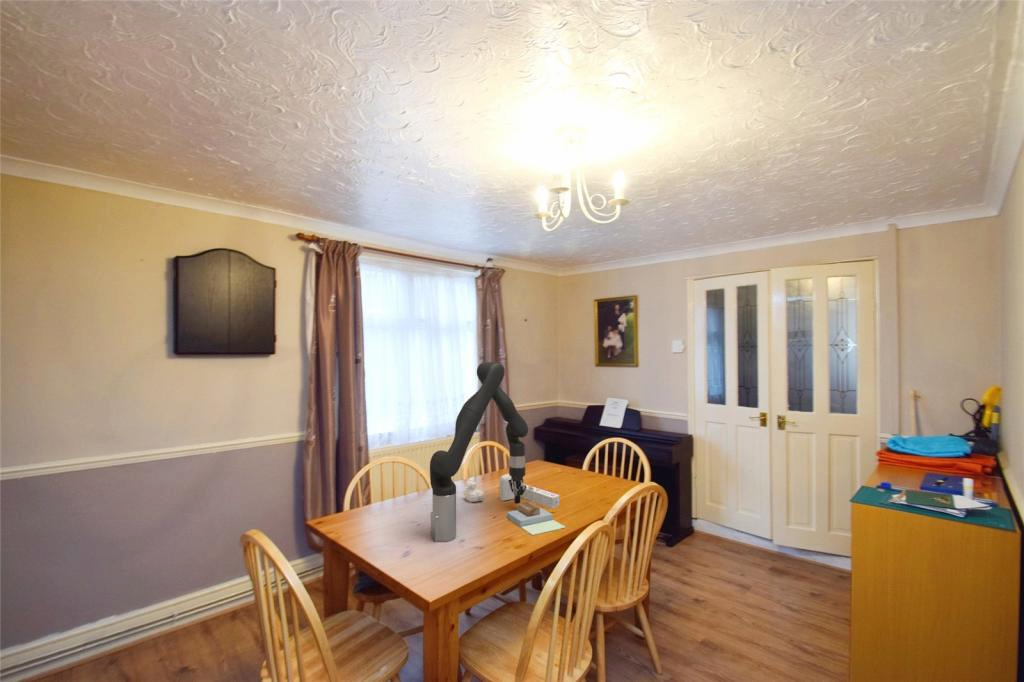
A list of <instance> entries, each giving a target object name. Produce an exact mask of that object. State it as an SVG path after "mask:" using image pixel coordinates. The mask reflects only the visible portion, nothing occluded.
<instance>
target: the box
mask: <svg viewBox="0 0 1024 682" xmlns="http://www.w3.org/2000/svg"><path fill="white" fill-rule="evenodd" d="M523 484H524V486H525V485H526V489H525V491H524V493H523V495H520V499H524V500H527V501H529V502H531V503H532V502H533V503H536V504H539V505H541V506H544V507H547V508H551V509H555V508H557V507H561V501H560V500H561V495H560V494H557V493H554V492H550V491H548V490H544V489H543V488H542V489H541V488H538V487H535V486H532V485H529V484H526V483H523Z"/></svg>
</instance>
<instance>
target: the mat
mask: <svg viewBox="0 0 1024 682" xmlns="http://www.w3.org/2000/svg"><path fill="white" fill-rule="evenodd" d="M520 528H521V529H523V531H525V532H527V533H528V534H529V535H531V536H536V535H541V534H544V533H549V532H553V531H558V530H563V529H566V526H565V525H563V524H562V523H560V522H558V521H556V520H554V519H553V520H551V521H546V522H542V523H537V524H532V525H528V526H523V527H520ZM562 528H563V529H562Z"/></svg>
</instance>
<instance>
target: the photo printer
mask: <svg viewBox="0 0 1024 682" xmlns="http://www.w3.org/2000/svg"><path fill="white" fill-rule="evenodd" d="M509 480H511V476H510V475H509V473H505V474H504V475H503V474H502V475H501V476H500V477H499V501H502V502H504V501H509V500H514V493H513V492H512V491H511V487H510V484H509Z"/></svg>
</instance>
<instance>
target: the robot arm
mask: <svg viewBox="0 0 1024 682" xmlns="http://www.w3.org/2000/svg"><path fill="white" fill-rule="evenodd" d="M505 372H506V371H505V366H504V365H503V364H502V363H500V362H494V361H484V362H481V363H479V365H478V366H477V369H476V376H477V378H478V380H479V382H480V383H481V384H482V385H481V386H480V387H479V389H478V390H477V391H476V392H475V393H474V394H473V395H471V396H470V398H468V399H467V400H466V401H465V403H464V404H463V405H462V407H461V409H460V411H459V412H458V415H457V416H456V420H455V429H454V438H453V441H452V443H451V445H450V447H449V448H448V450H447V451H446V450H443V449H442V450H437V451H435V452H434V453H433V454H432V455H431V458H430V462H429V479H430V487H431V490H432V511H431V512H430V537H431V539H433V541H434V542H436V543H438V542H450V541H452V540H455V539H456V538H457V485H456V483H455V482H454V481H453V479H452V477H454V476H455V475H456V474H457V473H458V472H459V470H460V467H461V465H462V462H463V460H464V458H465V456H466V452H467V450H468V447H469V445H470V442H471V441H472V438H473V436H474V434H475V432H476V430H477V429H478V426H479V424H480V422H481V421H482V418H483V416H484V413H485V412H486V410H487V407H488V406H489V403H490V401H492V400H493V401H494V403H495V405H496V406H497V408H498V410H499V413H500V414H501V417H502V418H503V420H504V421H505V422H507V423H506V426H505V434H506V438H507V443H508V446H509V457H508V474H509V475H510V476H511V480H509V484H510V487H511V491H512V492H513V493H514V499H513V500H514V504H516V505H517V504H518V503H521V497H520V495H523V493H524V491H525V489H526V485H527V484H526V485H525V486H524V484H525V483H524V477H525V476H526V455H525V454H526V453H525V452H526V447H525V446H526V445H525V443H524V442H523V441H521V440H520V438H522V439H523V438H526V436H527V435H528V434H529V426H528V423H527V422H526V421H525V419H524V418H523V417H522V416H521V415H520V414H519V412H518V410H517V408H516V406H515V404H514V402H513V400H512V399H511V398H510V396H509V395H508V394H507V393H506V392H505V391H504V390H503V389H502V388H501V386H500V385H501V383H502V381H503V380H504V377H505Z"/></svg>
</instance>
